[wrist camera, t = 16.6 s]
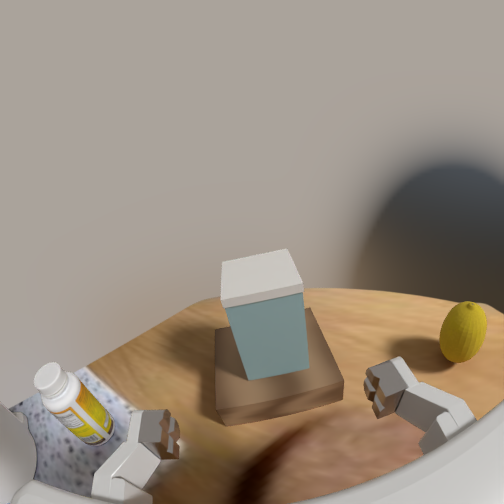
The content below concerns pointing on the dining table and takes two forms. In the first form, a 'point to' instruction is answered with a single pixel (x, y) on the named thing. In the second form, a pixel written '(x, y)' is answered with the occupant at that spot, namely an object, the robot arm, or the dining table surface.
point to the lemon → (463, 332)
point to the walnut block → (274, 381)
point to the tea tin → (266, 313)
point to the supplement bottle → (74, 405)
